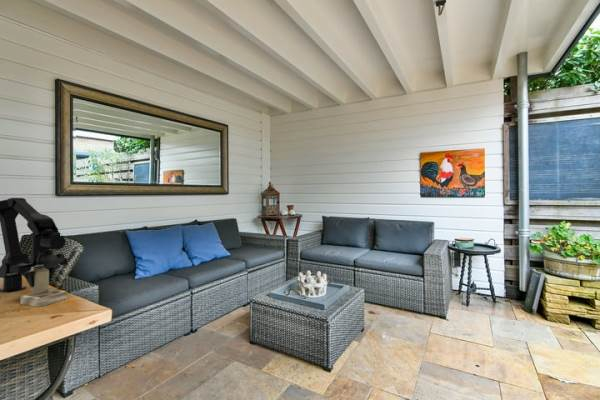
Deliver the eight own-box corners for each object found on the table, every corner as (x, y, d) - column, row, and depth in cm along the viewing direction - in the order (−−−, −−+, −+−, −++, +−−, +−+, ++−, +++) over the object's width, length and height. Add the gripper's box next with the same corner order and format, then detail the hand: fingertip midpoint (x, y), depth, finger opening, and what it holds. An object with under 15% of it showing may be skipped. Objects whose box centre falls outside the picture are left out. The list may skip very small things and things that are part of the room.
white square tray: (20, 303, 114) (20, 296, 114) (48, 296, 124) (48, 288, 124) (39, 307, 112) (39, 299, 112) (67, 298, 121) (67, 291, 121)
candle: (52, 290, 128) (52, 266, 128) (39, 294, 122) (40, 269, 122) (40, 289, 128) (40, 265, 128) (27, 293, 123) (28, 268, 123)
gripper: (29, 252, 114) (28, 294, 114) (77, 245, 132) (77, 281, 132) (8, 250, 117) (7, 290, 117) (59, 244, 135) (58, 279, 135)
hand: (40, 285), depth 125 cm, fingers closed on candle, 5 cm apart
